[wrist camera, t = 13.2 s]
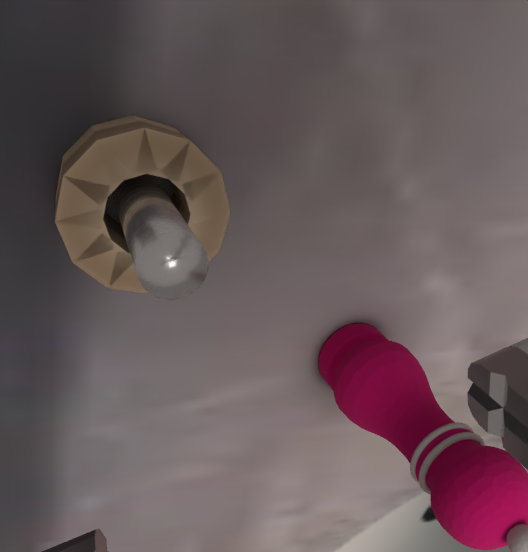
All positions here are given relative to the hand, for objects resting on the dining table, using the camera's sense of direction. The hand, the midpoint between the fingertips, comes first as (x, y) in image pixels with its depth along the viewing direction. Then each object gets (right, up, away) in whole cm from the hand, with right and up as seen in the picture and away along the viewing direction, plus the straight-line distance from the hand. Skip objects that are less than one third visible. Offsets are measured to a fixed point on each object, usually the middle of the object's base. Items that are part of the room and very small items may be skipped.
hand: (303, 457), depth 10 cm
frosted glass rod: (-9, +9, +21) cm, 24 cm away
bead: (-9, +9, +21) cm, 24 cm away
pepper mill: (+7, -3, +33) cm, 34 cm away
